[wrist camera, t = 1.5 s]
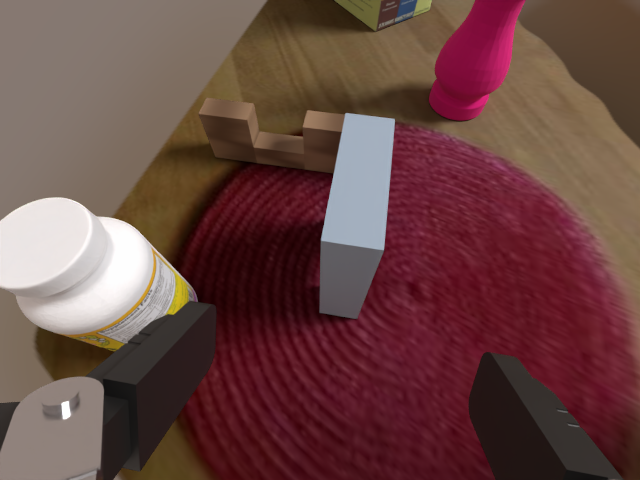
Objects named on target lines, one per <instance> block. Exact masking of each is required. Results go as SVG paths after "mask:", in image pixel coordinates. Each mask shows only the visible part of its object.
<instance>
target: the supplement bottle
mask: <svg viewBox="0 0 640 480" xmlns="http://www.w3.org/2000/svg"><path fill="white" fill-rule="evenodd" d="M0 288H2V289H4V290H7V291H9V292H11V293H13V294H15V295H16V300H17V302H18V305H19V307H20V309H21V311H22V312H23V314H25V316H26V317H27V318H28V319H29V320H30V321H31V322H32V323H34V324H35V325H37V326H39V327H41V328H43V329H46V330H48V331H51V332H54V333H57V334H60V335H64V336H67V337H70V338H73V339H77V340H80V341H83V342H86V343H89V344H92V345H95V346H99V347H102V348H105V349H108V350H111V351H114V352H115V351H117V350H118V349H119V348H120V347H121V346H123V345H124V344H125V343H126V344H127V343H128V341H129V340H130V339H131V338H132V337H133V336H135V335H136V334H138V333H139V331H141V330H142V329H143V328H144V327H145V326H147V325H148V324H149V323H150V322H151V321H154V320H156V319H158V318H160V317H163V316H165V315H167V314H172V315H174V314H175V313H176V312H177V311H178V310H179V309H180V308H182V307H183V306H184V305H185V304H186V303H187V302H189V301H195V302H198V299H197V296H196V293H195V291H194V289H193V288H192V287H191V285H190V284H189V283H188V282H187V281H186V280H185V279H184V278H183V277H182V276H181V275H180V274H179V273H178V272H177V271H176V270H175V269H174V268H173V267H172V265H171V264H170V263H169V262H168V261H167V260H166V259H165V258H164V257H163V256H162V255H161V254H160V253H159V252H158V251H157V250H156V249H155V248H154V247H153V246H152V245H151V244H150V243H149V242H148V241H147V240H146V238H145V237H144V236H143V235H142V234H141V233H140V232H139V231H138V230H137V229H135V228H134V227H133V226H131V225H130V224H128V223H126V222H124V221H121V220H118V219H114V218H108V217H96V216H95V215H94V214H92V213H91V212H90V211H89V210H87V209H86V208H85V207H84V206H82V205H81V204H80V203H78V202H76V201H73V200H70V199H66V198H45V199H41V200H37V201H34V202H30V203H28V204H26V205H24V206H21V207H20V208H18V209H16V210H14V211H13V212H11V213H10V214H8V215H7V216H6V217H5V218H3V219H2V220H1V221H0Z"/></svg>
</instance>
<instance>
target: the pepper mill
mask: <svg viewBox="0 0 640 480" xmlns="http://www.w3.org/2000/svg"><path fill="white" fill-rule="evenodd" d="M525 1H526V0H475V3H474V5H473V7H472V9H471V11H470V13H469V15H468V16H467V18H466V20H465V21H464V22H463V23H462V25H461V26H460V27H459V28H458V29H457V30H456V32H455V33H454V34H453V35H452V36H451V37H450V38H449V40H448V41H447V42H446V44H445V45H444V47H443V48H442V50H441V52H440V54H439V56H438V59H437V61H436V64H435V75H436V78H437V79H436V80H435V82H434V84H433V86H432V89H431V92H430V95H429V103H430V105H431V107H432V108H433V109H434V111H435V112H436V113H438V114H440V115H441V116H443V117H445V118H448V119H452V120H457V121H464V120H469V119H473V118H475V117H476V116H478V115H479V114H480V113H481V112H482V110H483V108H484V106H485V104H486V102H487V100H488V98H489V94H490V93H491V92H493V91H495V90H496V89H497V88H498V87H499V86H500V85H501V84H502V82H503V81H504V79H505V76H506V74H507V72H508V69H509V65H510V61H511V56H512V44H513V34H514V28H515V24H516V21H517V17H518V15H519V13H520V11H521V8H522V6H523V4H524V3H525Z"/></svg>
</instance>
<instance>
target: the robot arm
mask: <svg viewBox="0 0 640 480" xmlns="http://www.w3.org/2000/svg"><path fill="white" fill-rule="evenodd" d="M215 339H216V307H215V305H212V304H207V303H201V302H195V301H189V302H187V303H186V304H185V305H184V306H183V307H182V308H180V309H179V310H178V311H177V312H176V313H175V314H174V315H172V314H167V315H165V316H163V317H160V318H158V319H156V320H154V321H151V322H150V323H149V324H148V325H147V326H145V327H144V328H143V329H142V330H141V331H139V333H138V334H136V335H135V336H133V337H132V338H131V339H130V340H129V341H128V343H127V344H126V343H125V344H124V345H123V346H121V347H120V348H119V349H118V350H117V351H115V352H114V353H113V354H112V355H111V356H109V357H108V358H107V359H106V360H105V361H103V362H102V363H101V364H100V365H99V366H97V367H96V368H95V369H94V370H93V371H91V372H90V373H89V374H88V375H87V376H85V377H71V378H65V379H61V380H58V381H55V382H52V383H49V384H47V385H45V386H43V387H41V388H39V389H37V390H35V391H34V392H32V393H31V394H29V395H28V396H27V397H25V398H24V399H23V400H22V401H21V402H11V403H0V480H113V479H114V478H115V476H116V475H117V474H118V472H119V471H120V470H121V468H126V469H131V470H135V471H141V469H142V468H143V466H144V465H145V463H146V462H147V460H148V459H149V457H150V456H151V454H152V453H153V452H154V450H155V449H156V447H157V446H158V444H159V443H160V441H161V440H162V438H163V437H164V435H165V434H166V432H167V431H168V429H169V428H170V426H171V425H172V423H173V422H174V420H175V419H176V417H177V416H178V415H179V413H180V412H181V410H182V409H183V407H184V406H185V404H186V403H187V401H188V400H189V398H190V397H191V395H192V394H193V392H194V391H195V389H196V388H197V386H198V385H199V383H200V382H201V380H202V379H203V377H204V376H205V375H206V373H207V372H208V370H209V368H210V366H211V364H212V361H213V358H214V353H215ZM469 414H470V419H471V421H472V424H473V426H474V429H475V431H476V433H477V436H478V438H479V441H480V443H481V445H482V448H483V450H484V453H485V455H486V457H487V460H488V462H489V464H490V467H491V469H492V472H493V474H494V476H495V479H496V480H624V479H623V478H622V477H621V476H620V474H619V473H618V472H617V471H616V470H615V468H614V467H613V466H612V465H611V463H610V462H609V461H608V460H607V458H606V457H605V456H604V455H603V453H602V452H601V451H600V450H599V448H598V447H597V446H596V445H595V443H594V442H593V441H592V440H591V438H590V437H589V436H588V435H587V433H586V432H585V431H584V430H583V428H580V427H579V424H578V422H577V421H576V420H575V419H574V417H573V416H572V415H571V414H569V413H568V410H567V409H566V407H565V406H564V405H563V404H562V402H561V401H560V400H559V399H558V397H557V396H556V395H555V394H554V393H553V392H552V391H550V390H549V389H548V388H547V387H545V386H544V385H543V384H542V383H540V382H539V381H538V380H537V379H534V378H532V377H531V375H530V374H529V373H528V371H527V370H526V369H525V368H524V366H523V365H522V364H521V362H520V361H519V360H518V359H517V358H516V357H513V356H508V355H502V354H496V353H490V352H486V353H484V354H483V356H482V358H481V361H480V364H479V367H478V370H477V374H476V377H475V380H474V383H473V387H472V390H471V393H470V397H469Z"/></svg>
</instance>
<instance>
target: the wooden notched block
mask: <svg viewBox="0 0 640 480" xmlns="http://www.w3.org/2000/svg"><path fill="white" fill-rule="evenodd" d="M199 116H200V119H201V122H202V124H203V127H204V129H205V132H206V134H207V137H208V140H209V142H210V145H211V147H212V150H213V152H214V155H215V157H217V158H225V159H232V160H239V161H246V162H254V163H261V164H268V165H276V166H283V167H290V168H298V169H305V170H312V171H319V172H327V173H334V170H335V165H336V160H337V155H338V150H339V144H340V139H341V134H342V129H343V124H344V119H345V115H343V114H335V113H326V112H318V111H310V110H307V113H306V117H305V120H304V124H303V137H298V136H290V135H283V134H275V133H267V132H259V127H258V122H257V117H256V112H255V107H254V104H253V103H245V102H237V101H229V100H221V99H213V98H206V100H205V102H204V104H203V106H202V108H201V110H200V112H199Z"/></svg>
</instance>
